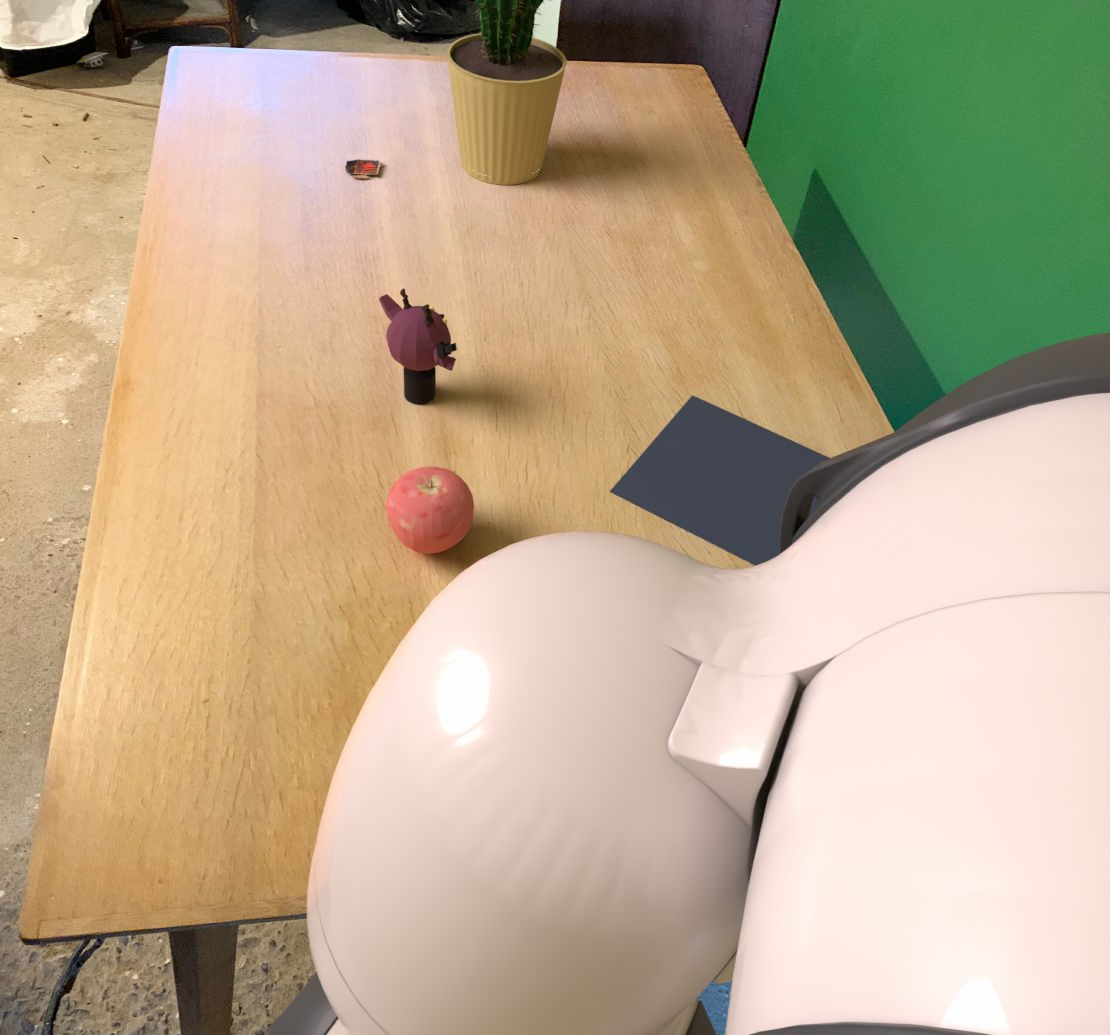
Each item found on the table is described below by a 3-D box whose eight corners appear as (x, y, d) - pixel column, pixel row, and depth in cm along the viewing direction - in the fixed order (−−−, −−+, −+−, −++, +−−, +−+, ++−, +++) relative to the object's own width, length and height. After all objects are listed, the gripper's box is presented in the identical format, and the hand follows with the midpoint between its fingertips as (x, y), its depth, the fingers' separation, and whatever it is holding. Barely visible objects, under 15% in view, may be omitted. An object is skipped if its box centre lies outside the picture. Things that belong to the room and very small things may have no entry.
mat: (866, 476, 96) (867, 474, 96) (800, 589, 85) (801, 588, 85) (692, 396, 102) (692, 394, 102) (609, 492, 91) (609, 491, 91)
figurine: (455, 422, 96) (457, 325, 87) (375, 418, 95) (369, 319, 86) (459, 372, 101) (461, 275, 92) (383, 367, 100) (378, 270, 92)
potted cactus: (467, 199, 125) (473, -54, 103) (431, 144, 134) (429, -99, 112) (573, 185, 130) (601, -59, 108) (531, 134, 139) (549, -101, 117)
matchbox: (343, 162, 129) (343, 159, 128) (381, 160, 130) (381, 157, 130) (348, 179, 126) (348, 176, 125) (387, 177, 127) (386, 174, 127)
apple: (486, 555, 84) (489, 493, 78) (408, 582, 82) (406, 519, 76) (452, 499, 88) (453, 437, 83) (377, 523, 86) (373, 459, 80)
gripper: (621, 1044, 51) (727, 840, 60) (330, 838, 58) (463, 680, 66) (606, 1072, 56) (707, 879, 64) (338, 879, 62) (462, 726, 71)
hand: (581, 777), depth 65 cm, fingers closed
